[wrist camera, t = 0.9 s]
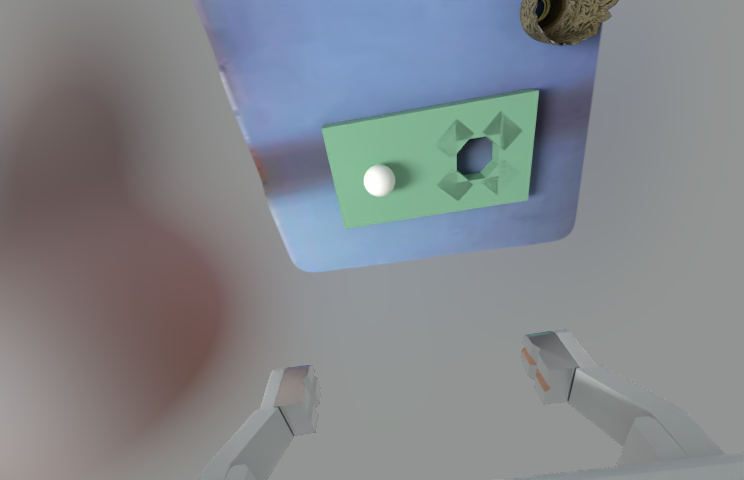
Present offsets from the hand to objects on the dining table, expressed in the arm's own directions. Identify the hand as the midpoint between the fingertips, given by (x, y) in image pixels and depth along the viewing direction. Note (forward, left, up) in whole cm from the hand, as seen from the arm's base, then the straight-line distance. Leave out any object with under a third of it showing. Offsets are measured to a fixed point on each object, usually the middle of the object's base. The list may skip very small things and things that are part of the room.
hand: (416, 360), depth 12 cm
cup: (-12, +20, -34) cm, 41 cm away
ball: (+3, 0, -29) cm, 29 cm away
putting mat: (+3, +7, -34) cm, 34 cm away
